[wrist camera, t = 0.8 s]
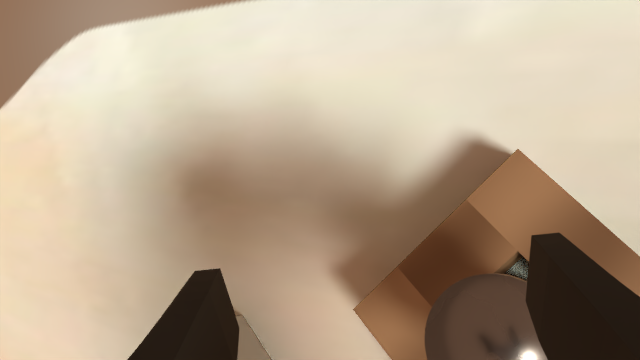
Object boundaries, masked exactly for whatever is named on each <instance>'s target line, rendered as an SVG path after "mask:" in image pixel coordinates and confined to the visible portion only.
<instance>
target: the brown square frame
mask: <svg viewBox="0 0 640 360" xmlns="http://www.w3.org/2000/svg"><path fill="white" fill-rule="evenodd" d="M558 232H559V233H561V234H562V235H563V236H564V237H566V238H567V239H568V240H569V241H571V242H572V243H573V244H574V245H575V246H577V247H578V248H579V249H580V250H582V251H583V252H584V253H585V254H586V255H588V256H589V257H590V258H591V259H592V260H594V261H595V262H596V263H597V264H599V265H600V266H601V267H602V268H603V269H605V270H606V271H607V272H608V273H610V274H611V275H612V276H613V277H615V278H616V279H617V280H618V281H620V282H621V283H622V284H624V285H625V286H626V287H628V288H629V289H630V290H632V291H633V292H634V293H635V294H637V295H638V296H639V297H640V257H639V256H638V255H637V254H636V253H635V252H634V251H633V250H632V249H630V248H629V247H628V246H627V245H626V244H625V243H624V242H622V241H621V240H620V239H619V238H618V237H617V236H616V235H615V234H613V233H612V232H611V231H610V230H609V229H608V228H607V227H606V226H604V225H603V224H602V223H601V222H600V221H599V220H598V219H597V218H595V217H594V216H593V215H592V214H591V213H590V212H589V211H587V210H586V209H585V208H584V207H583V206H582V205H581V204H580V203H578V202H577V201H576V200H575V199H574V198H573V197H572V196H571V195H569V194H568V193H567V192H566V191H565V190H564V189H563V188H562V187H560V186H559V185H558V184H557V183H556V182H555V181H554V180H552V179H551V178H550V177H549V176H548V175H547V174H546V173H545V172H543V171H542V170H541V169H540V168H539V167H538V166H537V165H536V164H534V163H533V162H532V161H531V160H530V159H529V158H528V157H527V156H525V155H524V154H523V153H522V152H521V151H520V150H519V149H517V150H516V151H515V152H514V153H513V154H512V155H511V156H510V157H509V158H508V159H507V160H506V161H505V162H504V163H503V164H502V165H501V166H500V167H499V168H498V169H497V170H496V171H495V172H494V173H493V174H492V175H491V176H490V177H489V178H487V179H486V180H485V181H484V182H483V183H482V184H481V185H480V186H479V187H478V188H477V189H476V190H475V191H474V192H473V193H472V194H471V195H470V196H469V197H468V198H467V199H466V200H465V201H464V202H463V203H462V204H461V205H460V206H459V207H458V208H457V209H456V210H455V211H454V212H453V213H452V214H451V215H450V216H449V217H448V218H447V219H445V220H444V221H443V222H442V223H441V224H440V225H439V226H438V227H437V228H436V229H435V230H434V231H433V232H432V233H431V234H430V235H429V236H428V237H427V238H426V239H425V240H424V241H423V242H422V243H421V244H420V245H419V246H418V247H417V248H416V249H415V250H414V251H413V252H412V253H411V254H410V255H409V256H408V257H407V258H406V259H404V260H403V261H402V262H401V263H400V264H399V265H398V266H397V267H396V268H395V269H394V270H393V271H392V272H391V273H390V274H389V275H388V276H387V277H386V278H385V279H384V280H383V281H382V282H381V283H380V284H379V285H378V286H377V287H376V288H375V289H374V290H373V291H372V292H371V293H370V294H369V295H368V296H367V297H366V298H365V299H363V300H362V301H361V302H360V303H359V304H358V305H357V306H356V307H355V308H354V309H353V310H354V311H355V313H356V314H357V315H358V316H359V318H360V319H361V320H362V322H363V323H364V324H365V326H366V327H367V328H368V329H369V331H370V332H371V333H372V335H373V336H374V337H375V338H376V340H377V341H378V342H379V344H380V345H381V346H382V348H383V349H384V350H385V351H386V353H387V354H388V355H389V357H390V358H391V359H392V360H427V356H426V351H425V339H424V336H425V327H426V322H427V318H428V315H429V313H430V310H431V308H432V306H433V304H434V303H435V301H436V300H437V299H438V297H439V296H440V295H441V294H442V293H443V292H444V291H445V290H446V289H447V288H448V287H450V286H451V285H453V284H454V283H456V282H458V281H460V280H462V279H464V278H467V277H470V276H474V275H480V274H488V273H500V274H504V273H505V272H507V271H508V270H509V269H510V268H511V267H512V266H513V265H514V264H515V263H517V262H518V261H519V260H520V259H521V258H522V257H524V258H525V259H526V260H527V261H528V262H529V257H530V246H531V235H539V234H549V233H558Z"/></svg>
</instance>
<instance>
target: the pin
mask: <svg viewBox="0 0 640 360" xmlns="http://www.w3.org/2000/svg"><path fill="white" fill-rule="evenodd" d="M526 289H527V281H526V280H524V279H521V278H519V277H516V276H512V275H508V274H500V273H488V274H480V275H474V276H470V277H467V278H464V279H462V280H460V281H458V282H456V283H454V284H453V285H451V286H450V287H448V288H447V289H446V290H445V291H444V292H443V293H442V294H441V295H440V296H439V297H438V299H437V300H436V301H435V303H434V304H433V306H432V308H431V310H430V313H429V315H428V318H427V322H426V327H425V336H424V339H425V351H426V356H427V360H548V359H547V357H546V355H545V353H544V351H543V349H542V347H541V344H540V342H539V340H538V337H537V334H536V331H535V328H534V325H533V322H532V319H531V316H530V313H529V310H528V307H527V304H526V301H525V300H526Z"/></svg>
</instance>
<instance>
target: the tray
mask: <svg viewBox="0 0 640 360" xmlns="http://www.w3.org/2000/svg"><path fill="white" fill-rule="evenodd" d="M236 319H237V322H238V325H239V343H238V356H237V360H271V359H270V357H269V356H268V354H267V352H266V351H265V349H264V348H263V346H262V345H261V343H260V342H259V340H258V339H257V337H256V336H255V334H254V333H253V331H252V329H251V328H250V326H249V325H248V323H247V322H246V320H245V319H244V317H243V316H242V315H240V316H236Z"/></svg>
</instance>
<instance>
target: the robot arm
mask: <svg viewBox="0 0 640 360" xmlns="http://www.w3.org/2000/svg"><path fill="white" fill-rule="evenodd" d="M525 301H526V304H527V307H528V310H529V313H530V316H531V319H532V322H533V325H534V328H535V331H536V334H537V337H538V340H539V342H540V344H541V347H542V349H543V351H544V353H545V355H546V357H547V359H548V360H640V297H639V296H638V295H637V294H635V293H634V292H633V291H632V290H630V289H629V288H628V287H626V286H625V285H624V284H622V283H621V282H620V281H618V280H617V279H616V278H615V277H613V276H612V275H611V274H610V273H608V272H607V271H606V270H605V269H603V268H602V267H601V266H600V265H599V264H597V263H596V262H595V261H594V260H592V259H591V258H590V257H589V256H588V255H586V254H585V253H584V252H583V251H582V250H580V249H579V248H578V247H577V246H575V245H574V244H573V243H572V242H571V241H569V240H568V239H567V238H566V237H564V236H563V235H562V234H561V233H559V232H558V233H549V234H539V235H531V246H530V257H529V267H528V278H527V289H526V300H525ZM238 343H239V325H238V322H237V319H236V316H235V313H234V310H233V307H232V304H231V301H230V297H229V294H228V291H227V288H226V285H225V282H224V279H223V276H222V273H221V270H220V268H219V269H210V270H201V271H195V272H194V273H193V274H192V276H191V277H190V278H189V280H188V281H187V282H186V284H185V285H184V286H183V288H182V289H181V291H180V292H179V293H178V295H177V296H176V297H175V299H174V300H173V302H172V303H171V304H170V306H169V307H168V308H167V310H166V311H165V312H164V314H163V315H162V317H161V318H160V319H159V320H158V322H157V323H156V324H155V326H154V327H153V328H152V330H151V331H150V332H149V334H148V335H147V336H146V337H145V339H144V340H143V341H142V343H141V344H140V345H139V346H138V348H137V349H136V350H135V351H134V352H133V354H132V355H131V356H130V357H129V358H128V360H237V356H238Z"/></svg>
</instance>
